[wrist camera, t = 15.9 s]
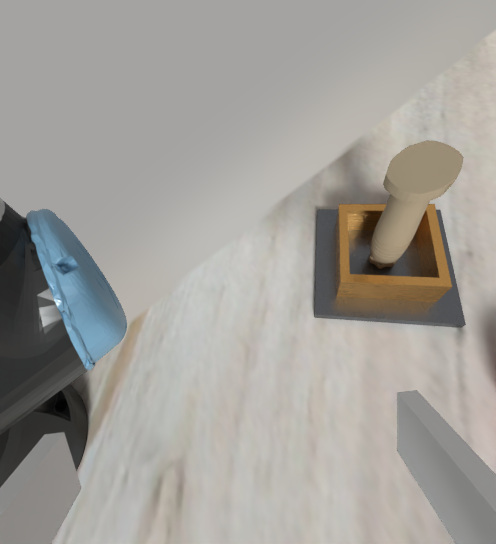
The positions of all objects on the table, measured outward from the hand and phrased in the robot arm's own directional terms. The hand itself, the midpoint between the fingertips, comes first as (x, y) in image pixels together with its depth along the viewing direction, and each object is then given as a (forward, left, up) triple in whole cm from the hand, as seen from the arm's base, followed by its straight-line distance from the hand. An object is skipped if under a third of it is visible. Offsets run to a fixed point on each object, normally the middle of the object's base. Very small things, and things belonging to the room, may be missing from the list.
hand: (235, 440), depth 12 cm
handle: (+12, +21, -21) cm, 32 cm away
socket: (+12, +21, -22) cm, 33 cm away
